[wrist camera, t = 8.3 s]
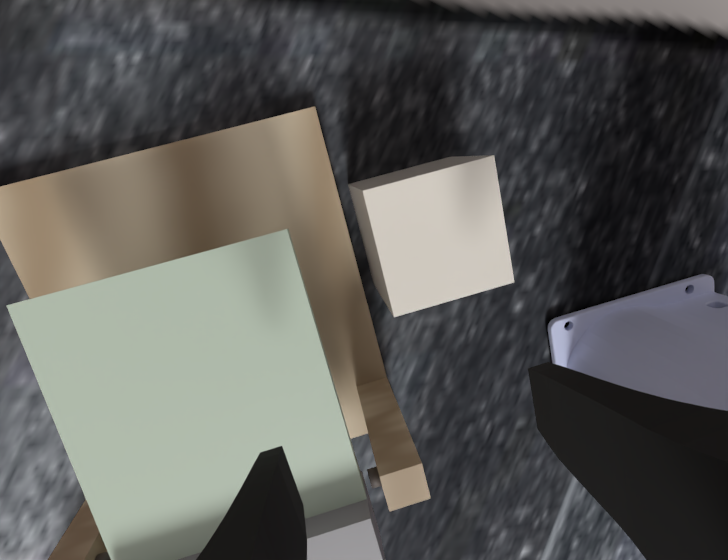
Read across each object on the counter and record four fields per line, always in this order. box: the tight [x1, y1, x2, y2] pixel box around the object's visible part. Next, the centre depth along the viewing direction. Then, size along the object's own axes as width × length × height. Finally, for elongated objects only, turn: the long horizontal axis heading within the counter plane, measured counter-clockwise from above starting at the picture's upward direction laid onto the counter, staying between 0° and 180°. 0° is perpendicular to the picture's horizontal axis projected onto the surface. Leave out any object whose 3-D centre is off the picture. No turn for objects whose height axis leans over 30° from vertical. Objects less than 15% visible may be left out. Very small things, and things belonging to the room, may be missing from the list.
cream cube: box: [348, 155, 514, 317], centre depth 19 cm, size 5×5×5 cm
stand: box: [0, 107, 431, 560], centre depth 18 cm, size 14×16×8 cm
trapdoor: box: [7, 229, 385, 560], centre depth 16 cm, size 9×14×3 cm
